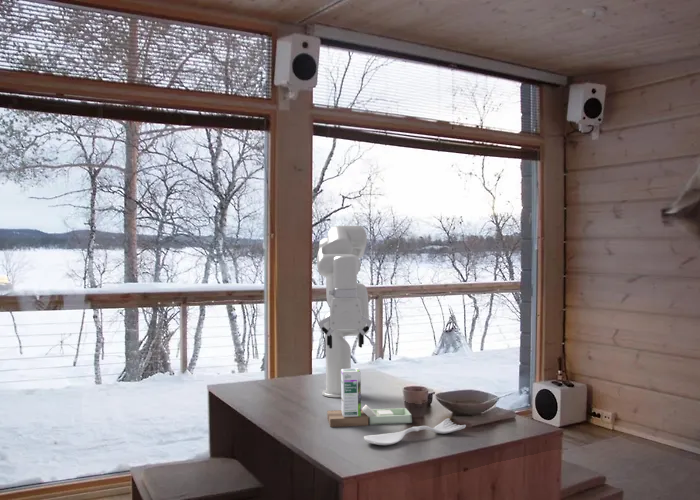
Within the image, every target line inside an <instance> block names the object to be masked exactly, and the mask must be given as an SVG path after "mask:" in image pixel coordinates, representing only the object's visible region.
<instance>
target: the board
mask: <svg viewBox="0 0 700 500" xmlns="http://www.w3.org/2000/svg"><path fill="white" fill-rule="evenodd" d="M326 415H327V417H326V418H327V422H328V425H329V427H330V428H334V427H335V428H339V427H359V426H360V427H362V426H364V427H365V426H369V423H368V416H367V415H366V414H365V413H364V412H363V410H362V408H361V417H343V415H342V411H341V409H336V410H335V409H334V410H327V411H326Z"/></svg>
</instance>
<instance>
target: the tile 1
mask: <svg viewBox="0 0 700 500" xmlns="http://www.w3.org/2000/svg"><path fill="white" fill-rule="evenodd" d="M361 409H362V410H363V412H364V413H365V414H366V415H367V416H368V417H369V416H377V414H376V413H375V412H374V411H373V410H372V408H370V406H368V405H367V404H365V405H364V406H363V407H361Z"/></svg>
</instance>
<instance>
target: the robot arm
mask: <svg viewBox="0 0 700 500" xmlns="http://www.w3.org/2000/svg"><path fill="white" fill-rule="evenodd" d="M367 236H368V235H367V231H366V230H365V227H363V226H361V225H336V226H333V227H331V228H330V229H329V231H328V232H327V237H326V238H322V239H321V240H320V241H319V244H318V252H317V255H316V256H317V257H316V264H317V267H316V268H317V272H318V274H319V275H320V276H321V277H324V278H325V289H326V292H325V293H326V295H325V296H326V301H327V302H326V303H327V305H328V307H329V311H328V312H327V313H325V315H324V316H323V318H322V319H321V320H319V321H318V322H317V324H318V326H319V328H320V329H321V331H322V332H323V333H324V339H325V388H324V389H322V390H321V395H322V396H324V397H328V398H337V399H338V398H339V399H340V398H341V369H352V366H351V365H352V363H351V359H352V356H351V354H352V352H351V351H352V350H351V345H350V343H348V341H347V340H346V339H345V338H344V337H358V340H357V341H358V347H359V348H360V349H361V348H363V345H364V344H365V335H367V334H368V333H369V331H370V327H371V326H372V324H373V321H372V320H371V319H370V311H369V310H370V309H369V296H368V295H369V292H368V289H367V286H366V285H364V284H363V283H361V282H358V277H357V276H358V274H359V272H360V271H361V265H362V264H361V260H360V259H361V258H363V257H364V255H365V251H366V247H367V243H368V237H367Z"/></svg>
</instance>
